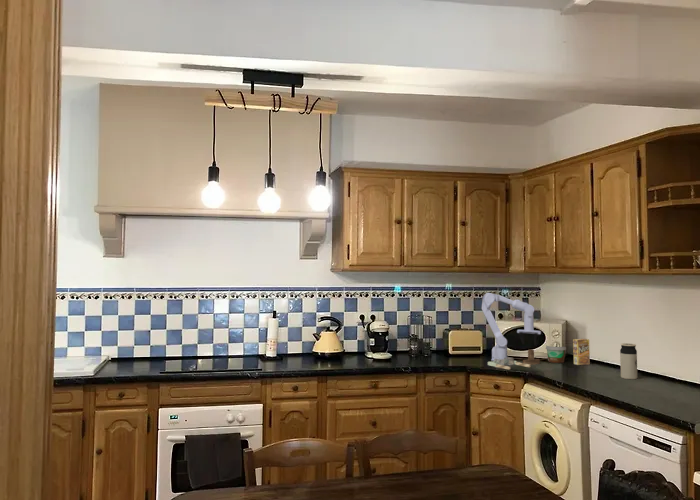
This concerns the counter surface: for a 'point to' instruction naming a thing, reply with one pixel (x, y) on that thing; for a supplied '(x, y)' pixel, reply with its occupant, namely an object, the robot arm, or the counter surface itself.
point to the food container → (556, 354)
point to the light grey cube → (499, 361)
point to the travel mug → (628, 361)
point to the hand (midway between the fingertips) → (529, 345)
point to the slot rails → (516, 364)
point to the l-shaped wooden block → (531, 358)
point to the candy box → (581, 351)
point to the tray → (496, 363)
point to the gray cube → (509, 361)
